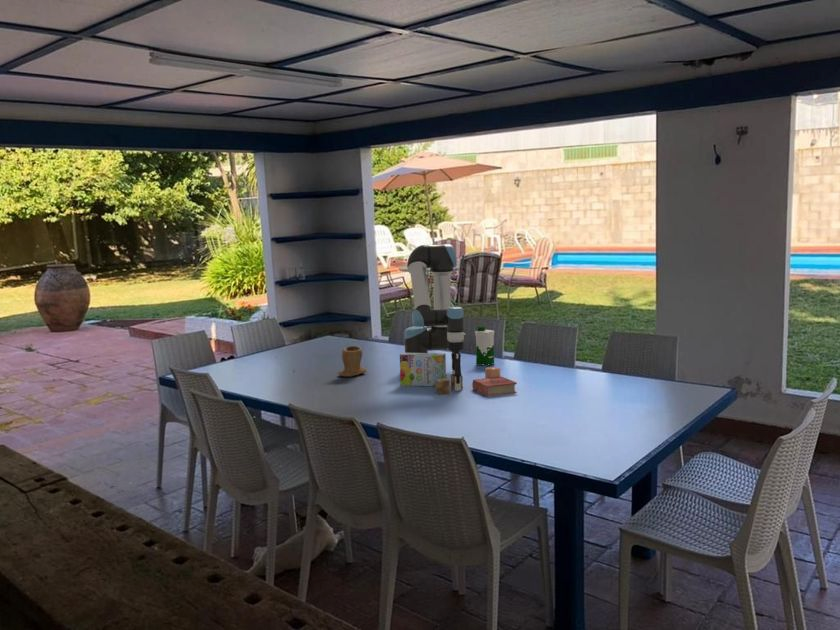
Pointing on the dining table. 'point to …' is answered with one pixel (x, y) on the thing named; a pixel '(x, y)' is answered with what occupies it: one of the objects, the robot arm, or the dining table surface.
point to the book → (494, 386)
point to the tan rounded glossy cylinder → (492, 372)
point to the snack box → (422, 368)
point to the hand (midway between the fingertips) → (456, 387)
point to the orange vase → (352, 361)
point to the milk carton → (484, 346)
